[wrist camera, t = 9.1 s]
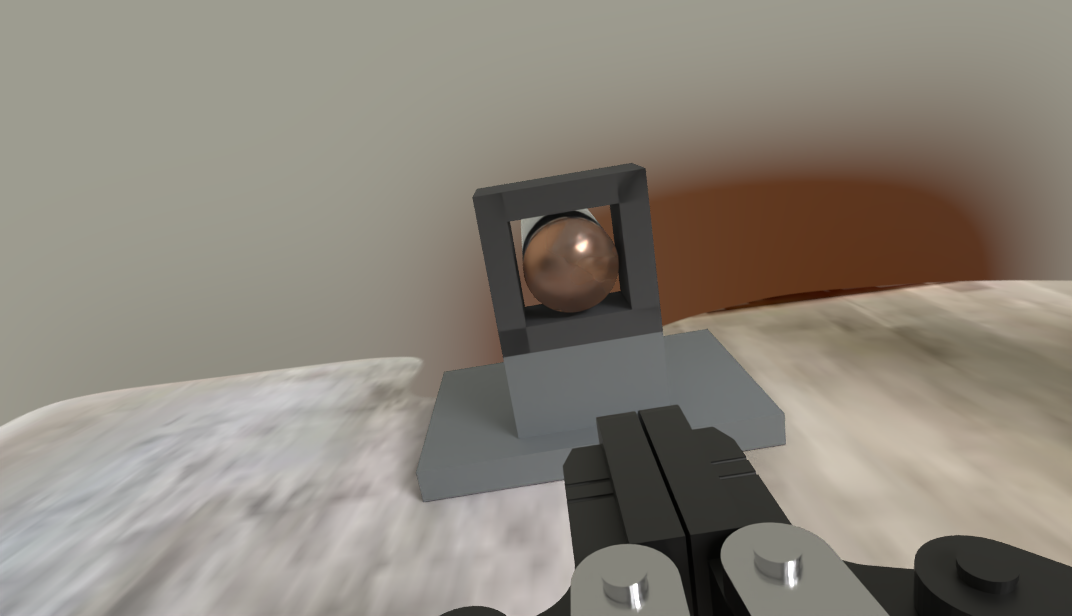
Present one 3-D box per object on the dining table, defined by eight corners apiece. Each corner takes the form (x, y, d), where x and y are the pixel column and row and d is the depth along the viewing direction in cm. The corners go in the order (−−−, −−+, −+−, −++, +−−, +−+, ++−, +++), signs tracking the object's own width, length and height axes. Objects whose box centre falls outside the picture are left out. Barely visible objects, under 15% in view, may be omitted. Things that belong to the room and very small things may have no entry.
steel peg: (593, 251, 37) (583, 183, 35) (624, 304, 26) (612, 211, 25) (527, 262, 37) (515, 195, 36) (531, 319, 26) (515, 227, 25)
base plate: (709, 352, 37) (702, 264, 36) (785, 444, 27) (780, 326, 25) (449, 394, 37) (430, 309, 36) (423, 502, 27) (395, 388, 25)
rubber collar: (648, 310, 29) (631, 163, 27) (662, 331, 27) (645, 168, 24) (504, 334, 30) (476, 189, 27) (503, 357, 27) (472, 197, 25)
